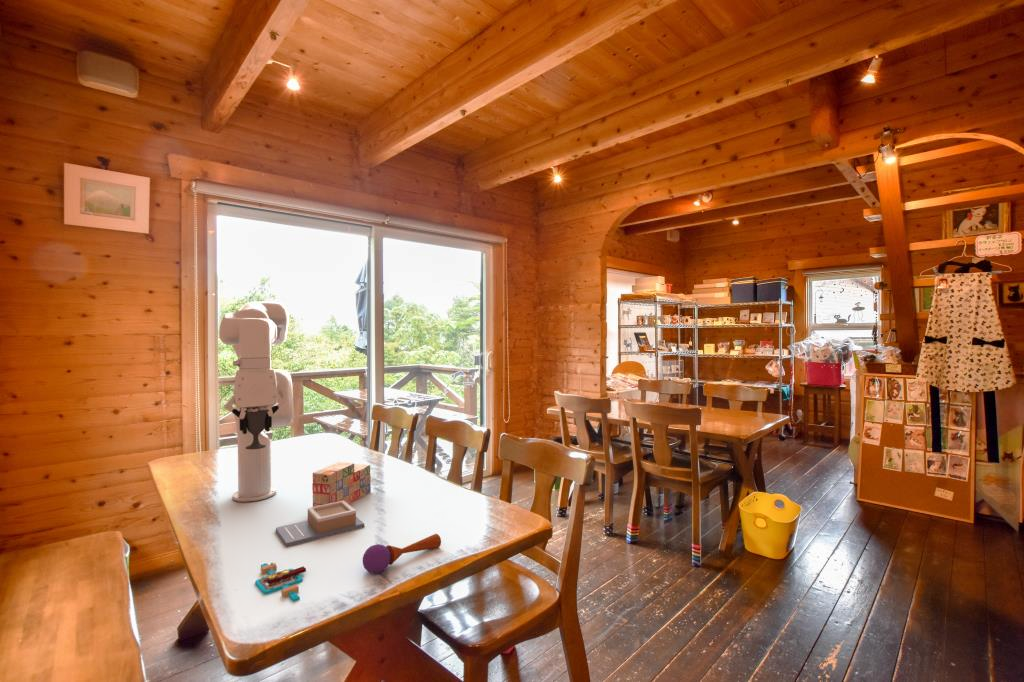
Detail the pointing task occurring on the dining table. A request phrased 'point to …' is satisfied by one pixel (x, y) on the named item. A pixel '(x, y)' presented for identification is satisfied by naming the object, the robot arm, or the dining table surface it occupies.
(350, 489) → the stack of blocks
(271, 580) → the gear mechanism
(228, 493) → the dining table surface
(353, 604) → the dining table surface
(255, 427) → the sundae
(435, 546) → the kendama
